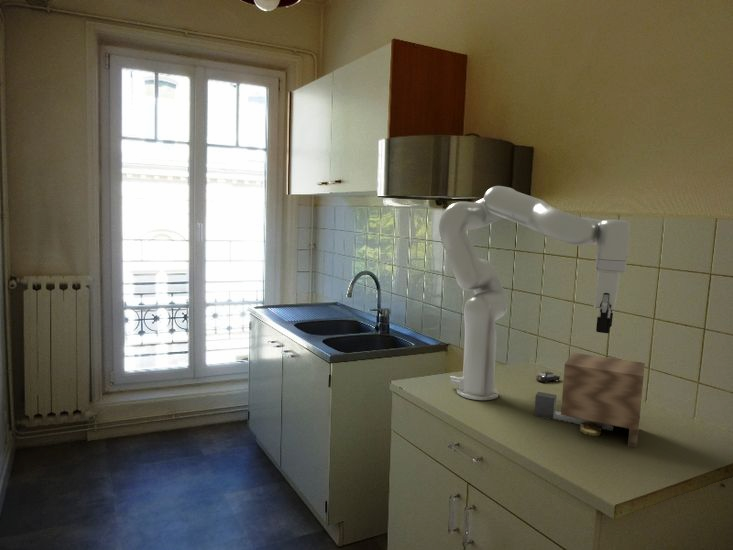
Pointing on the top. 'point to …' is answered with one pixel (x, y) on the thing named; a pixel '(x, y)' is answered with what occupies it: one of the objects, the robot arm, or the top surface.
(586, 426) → the token
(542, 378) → the toy car
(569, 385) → the cabinet
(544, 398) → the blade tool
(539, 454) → the top surface
